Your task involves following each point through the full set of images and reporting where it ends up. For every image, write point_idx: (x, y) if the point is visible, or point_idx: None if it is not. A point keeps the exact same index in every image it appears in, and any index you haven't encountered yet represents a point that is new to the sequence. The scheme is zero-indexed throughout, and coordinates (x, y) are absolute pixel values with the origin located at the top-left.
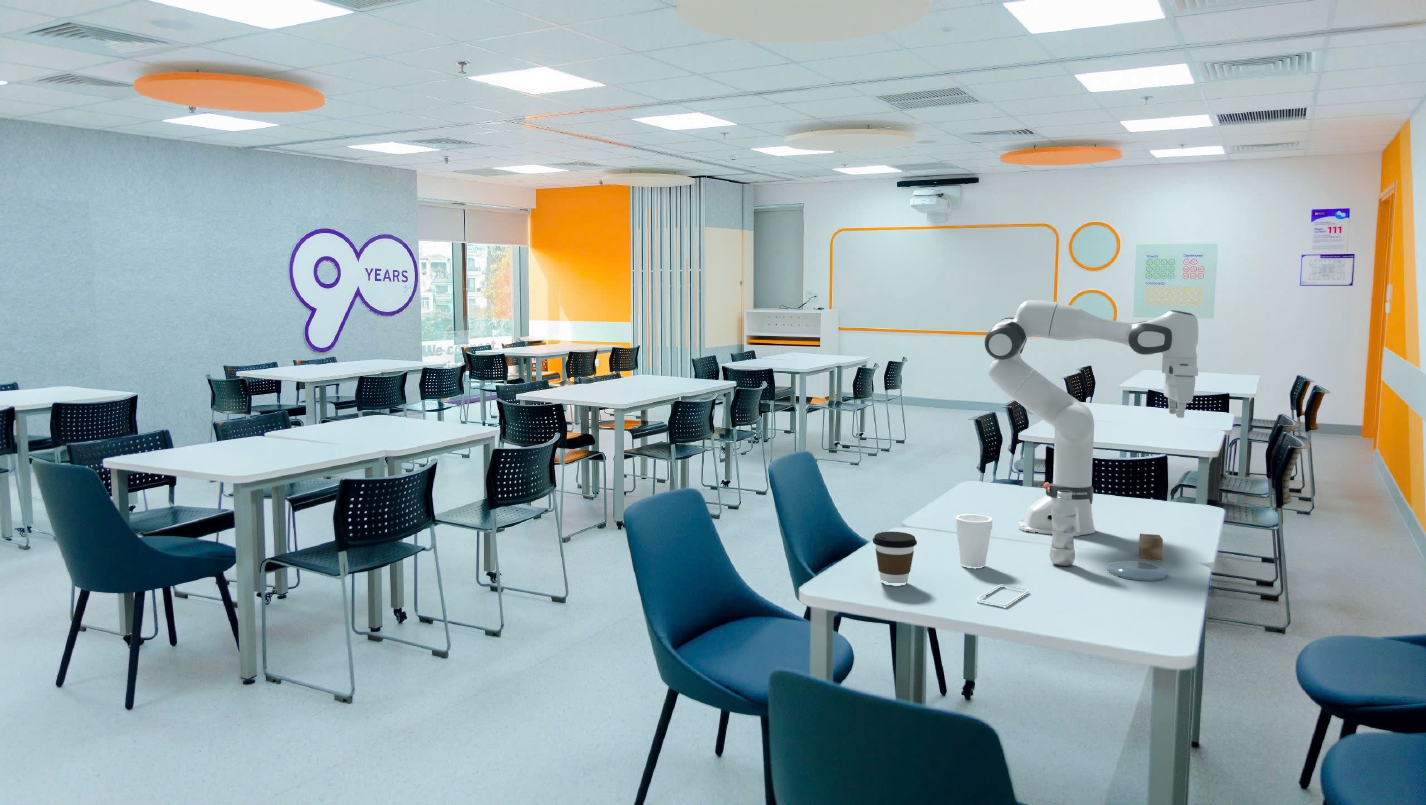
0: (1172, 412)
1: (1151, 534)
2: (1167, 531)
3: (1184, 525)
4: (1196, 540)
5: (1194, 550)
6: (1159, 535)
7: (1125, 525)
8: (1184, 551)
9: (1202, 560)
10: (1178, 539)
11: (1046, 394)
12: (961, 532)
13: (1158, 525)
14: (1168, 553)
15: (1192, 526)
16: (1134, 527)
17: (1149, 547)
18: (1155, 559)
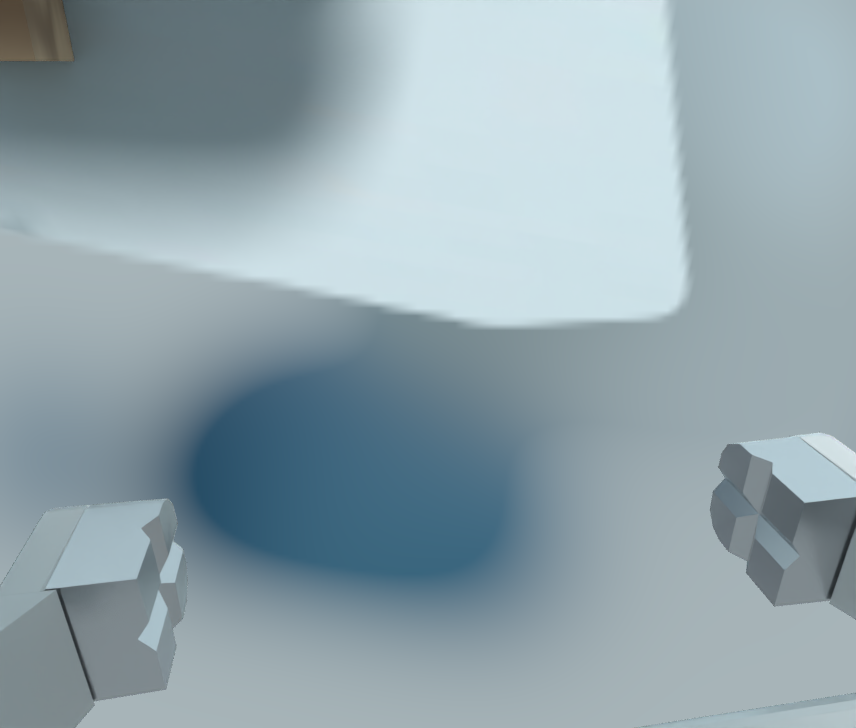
0: (735, 485)
1: (23, 16)
2: (562, 186)
3: (675, 272)
4: (426, 274)
5: (245, 238)
6: (20, 59)
7: (653, 8)
8: (211, 194)
9: (76, 240)
10: (425, 207)
11: None
12: None
13: (666, 167)
14: (143, 118)
15: (661, 298)
16: (617, 47)
17: None
18: None
